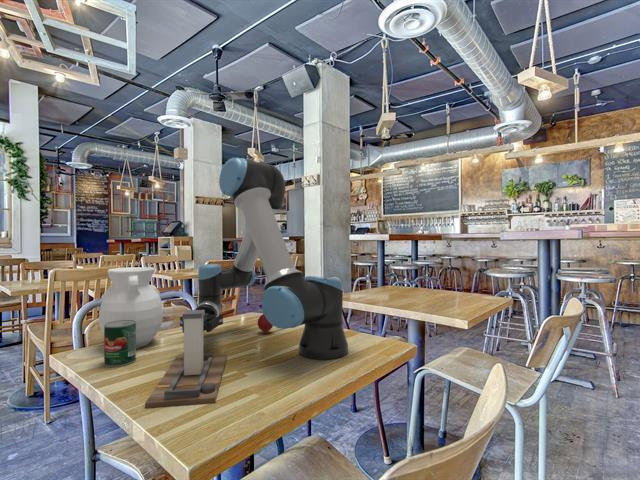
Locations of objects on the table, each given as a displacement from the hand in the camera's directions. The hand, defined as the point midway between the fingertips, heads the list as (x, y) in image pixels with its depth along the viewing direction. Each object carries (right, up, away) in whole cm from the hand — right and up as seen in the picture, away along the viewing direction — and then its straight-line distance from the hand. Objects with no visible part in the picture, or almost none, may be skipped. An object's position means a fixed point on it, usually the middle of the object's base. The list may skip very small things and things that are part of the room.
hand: (191, 335), depth 92 cm
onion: (+13, -10, +39) cm, 42 cm away
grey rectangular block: (+1, -9, -2) cm, 9 cm away
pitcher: (-28, -10, +24) cm, 39 cm away
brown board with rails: (+2, -10, -3) cm, 11 cm away
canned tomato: (-23, -10, +9) cm, 27 cm away
